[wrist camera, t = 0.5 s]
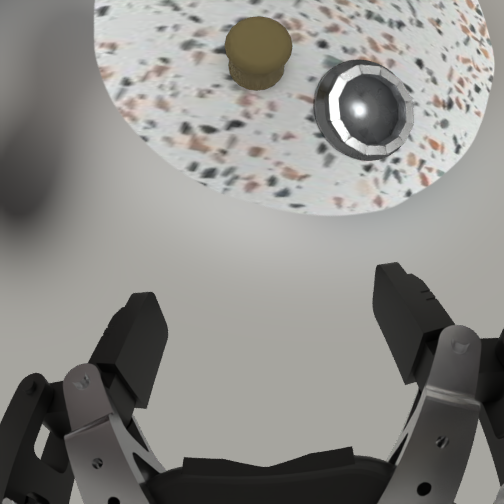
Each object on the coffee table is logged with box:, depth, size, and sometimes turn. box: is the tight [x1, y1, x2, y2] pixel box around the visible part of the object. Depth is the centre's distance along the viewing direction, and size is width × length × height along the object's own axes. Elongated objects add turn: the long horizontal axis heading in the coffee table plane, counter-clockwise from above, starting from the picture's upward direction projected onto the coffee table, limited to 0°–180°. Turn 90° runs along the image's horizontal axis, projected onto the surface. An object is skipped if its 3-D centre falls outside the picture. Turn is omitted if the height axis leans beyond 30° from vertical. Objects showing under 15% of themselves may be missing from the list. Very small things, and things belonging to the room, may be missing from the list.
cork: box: [225, 16, 292, 91], centre depth 22 cm, size 6×6×11 cm
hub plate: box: [314, 60, 414, 161], centre depth 27 cm, size 12×12×3 cm
